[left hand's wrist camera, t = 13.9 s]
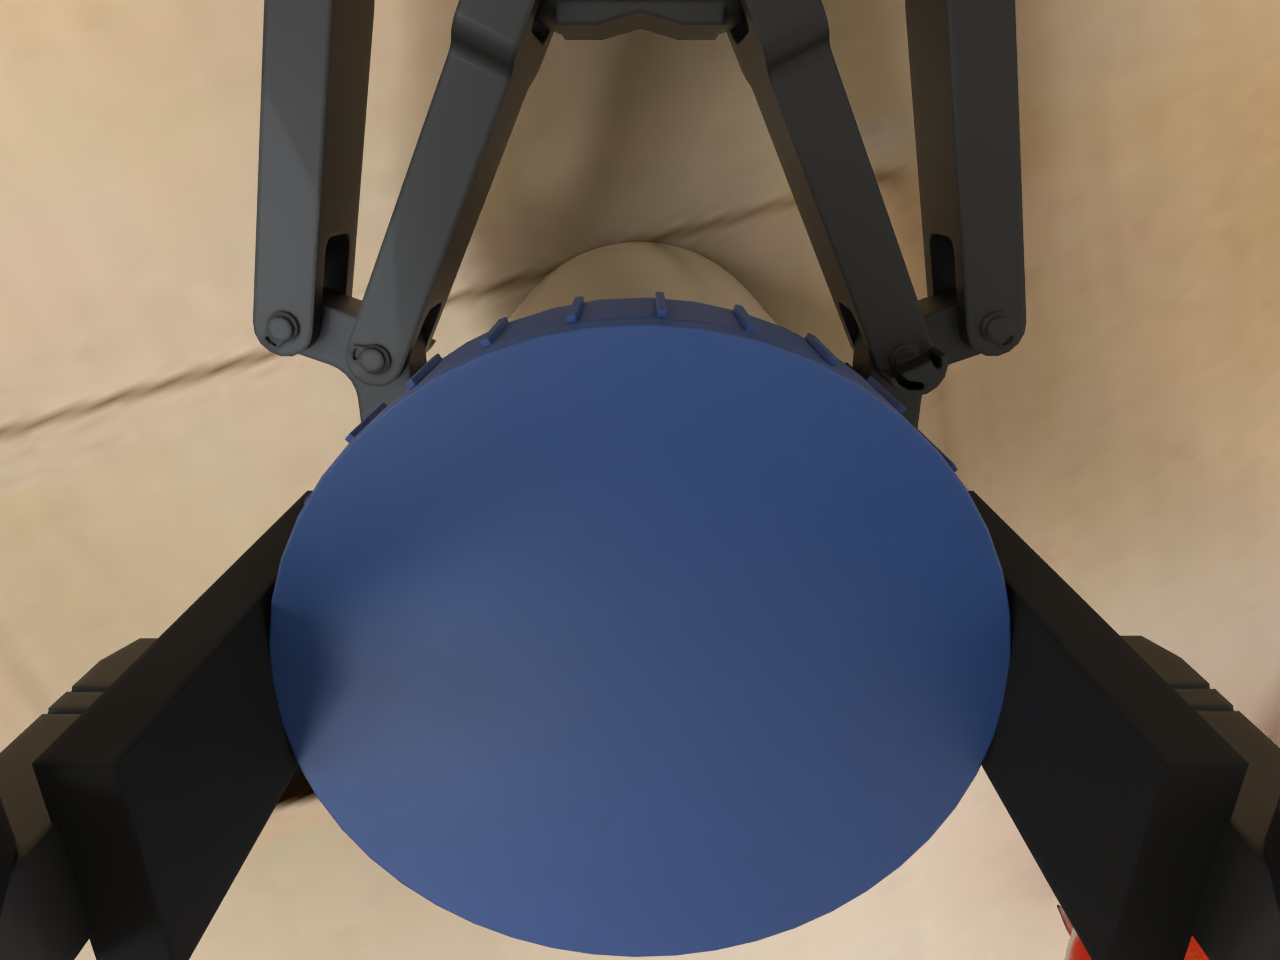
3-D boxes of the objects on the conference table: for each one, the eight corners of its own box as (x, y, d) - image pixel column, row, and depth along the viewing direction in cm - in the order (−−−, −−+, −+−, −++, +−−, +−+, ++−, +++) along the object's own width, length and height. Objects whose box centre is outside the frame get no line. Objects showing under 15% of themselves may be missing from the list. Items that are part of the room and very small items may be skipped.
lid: (396, 880, 14) (360, 985, 12) (239, 333, 11) (157, 367, 9) (951, 832, 14) (998, 934, 12) (971, 250, 10) (1041, 269, 9)
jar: (523, 528, 27) (395, 931, 13) (475, 258, 23) (237, 399, 10) (787, 501, 26) (953, 885, 12) (773, 224, 23) (974, 318, 9)
